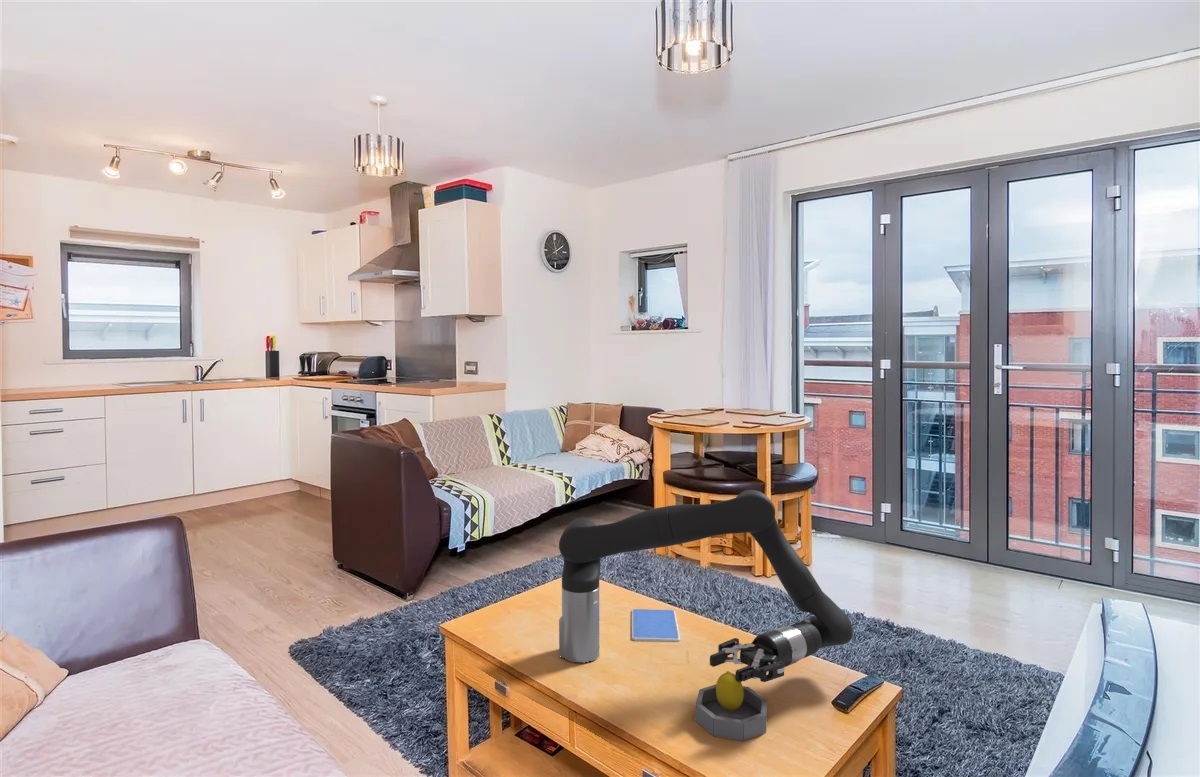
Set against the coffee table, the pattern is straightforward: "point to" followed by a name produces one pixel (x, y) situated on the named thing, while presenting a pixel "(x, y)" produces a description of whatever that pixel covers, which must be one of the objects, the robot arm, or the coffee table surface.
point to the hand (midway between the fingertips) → (723, 669)
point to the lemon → (729, 692)
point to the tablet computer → (654, 625)
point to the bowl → (732, 715)
